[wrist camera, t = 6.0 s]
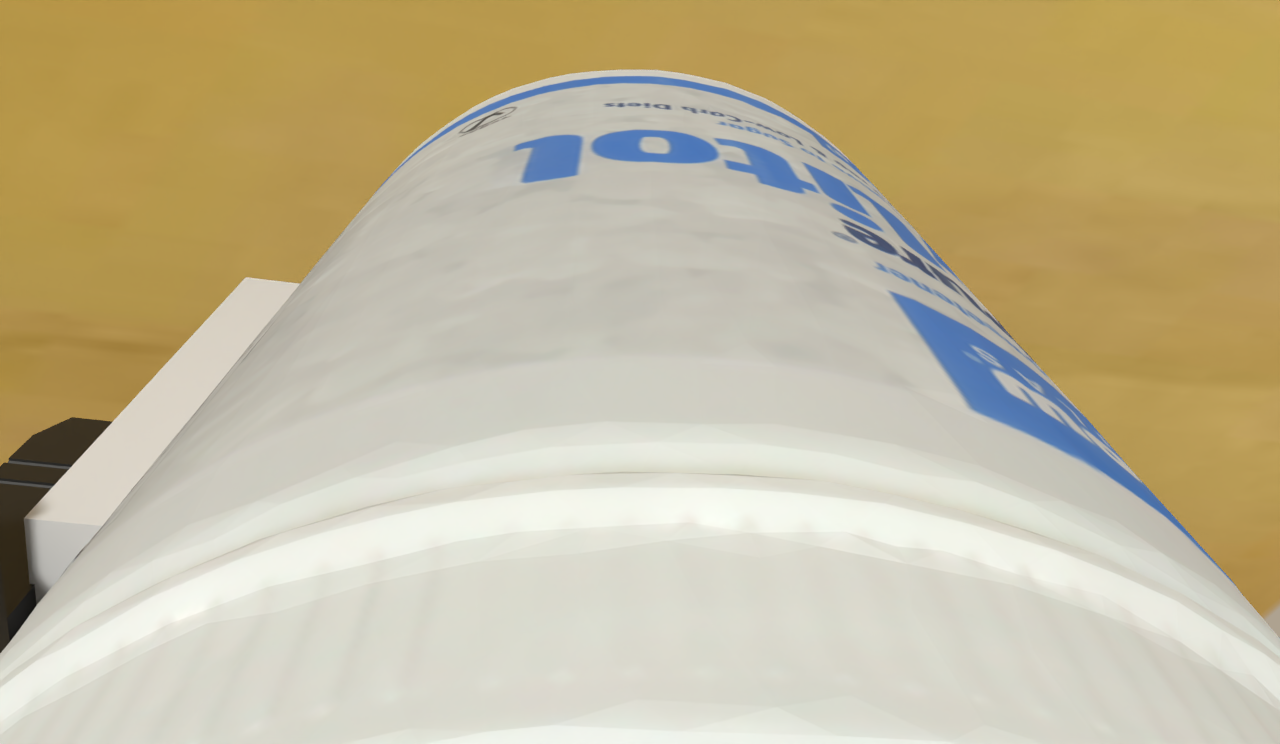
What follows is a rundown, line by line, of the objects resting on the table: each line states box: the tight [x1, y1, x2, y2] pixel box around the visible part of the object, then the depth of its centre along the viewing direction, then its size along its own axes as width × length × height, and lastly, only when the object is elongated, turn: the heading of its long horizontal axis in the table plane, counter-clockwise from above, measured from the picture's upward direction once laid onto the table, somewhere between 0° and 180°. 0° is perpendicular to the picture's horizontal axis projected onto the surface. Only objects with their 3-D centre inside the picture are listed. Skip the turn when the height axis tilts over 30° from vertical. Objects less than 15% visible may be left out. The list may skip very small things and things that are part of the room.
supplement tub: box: [0, 70, 1280, 744], centre depth 12 cm, size 10×10×15 cm
